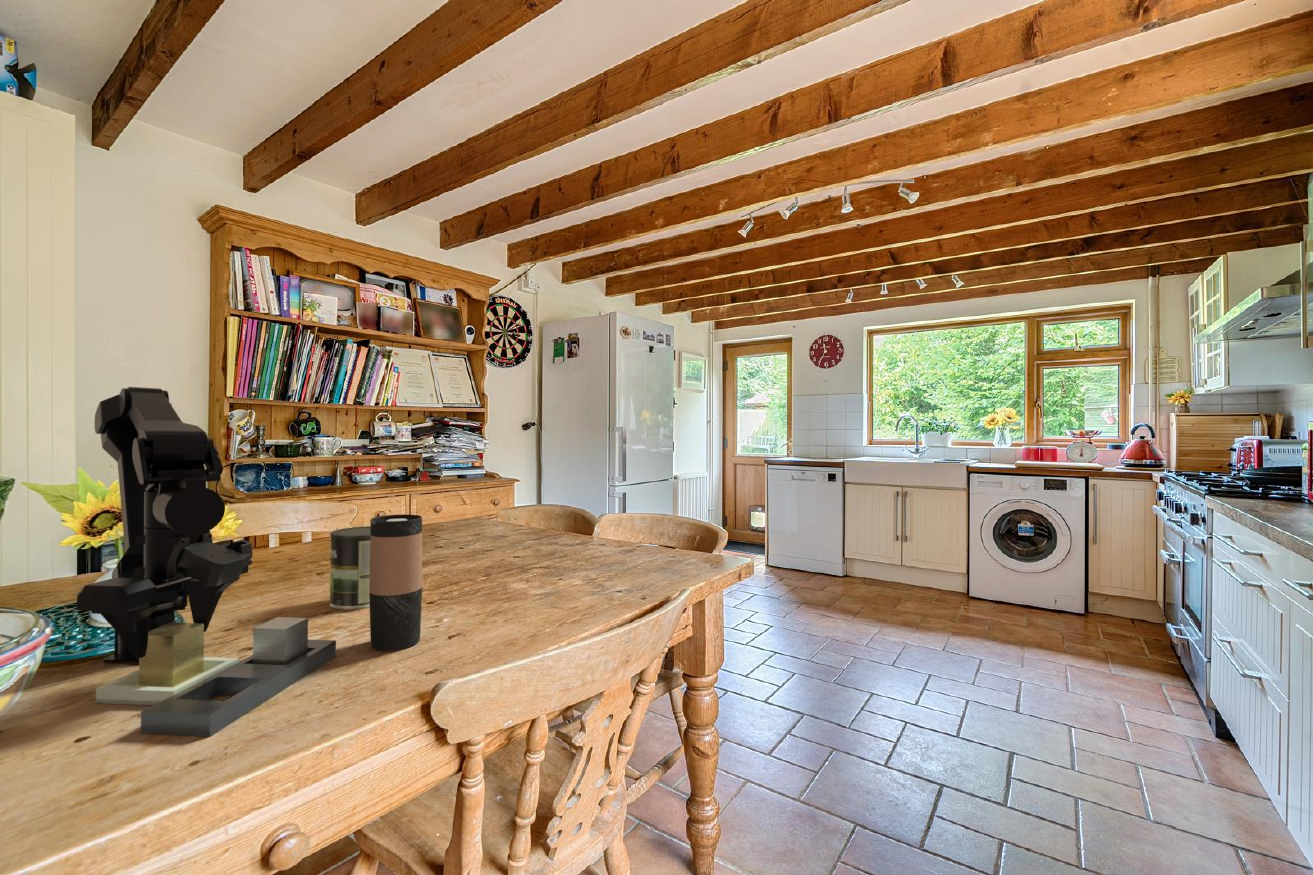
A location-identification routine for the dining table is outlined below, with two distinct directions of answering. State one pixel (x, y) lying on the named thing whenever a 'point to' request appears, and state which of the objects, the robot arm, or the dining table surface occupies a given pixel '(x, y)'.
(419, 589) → the travel mug
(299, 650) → the grey square block
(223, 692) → the rail
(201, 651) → the beige wooden block
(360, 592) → the coffee can
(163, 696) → the tray
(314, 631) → the dining table surface
